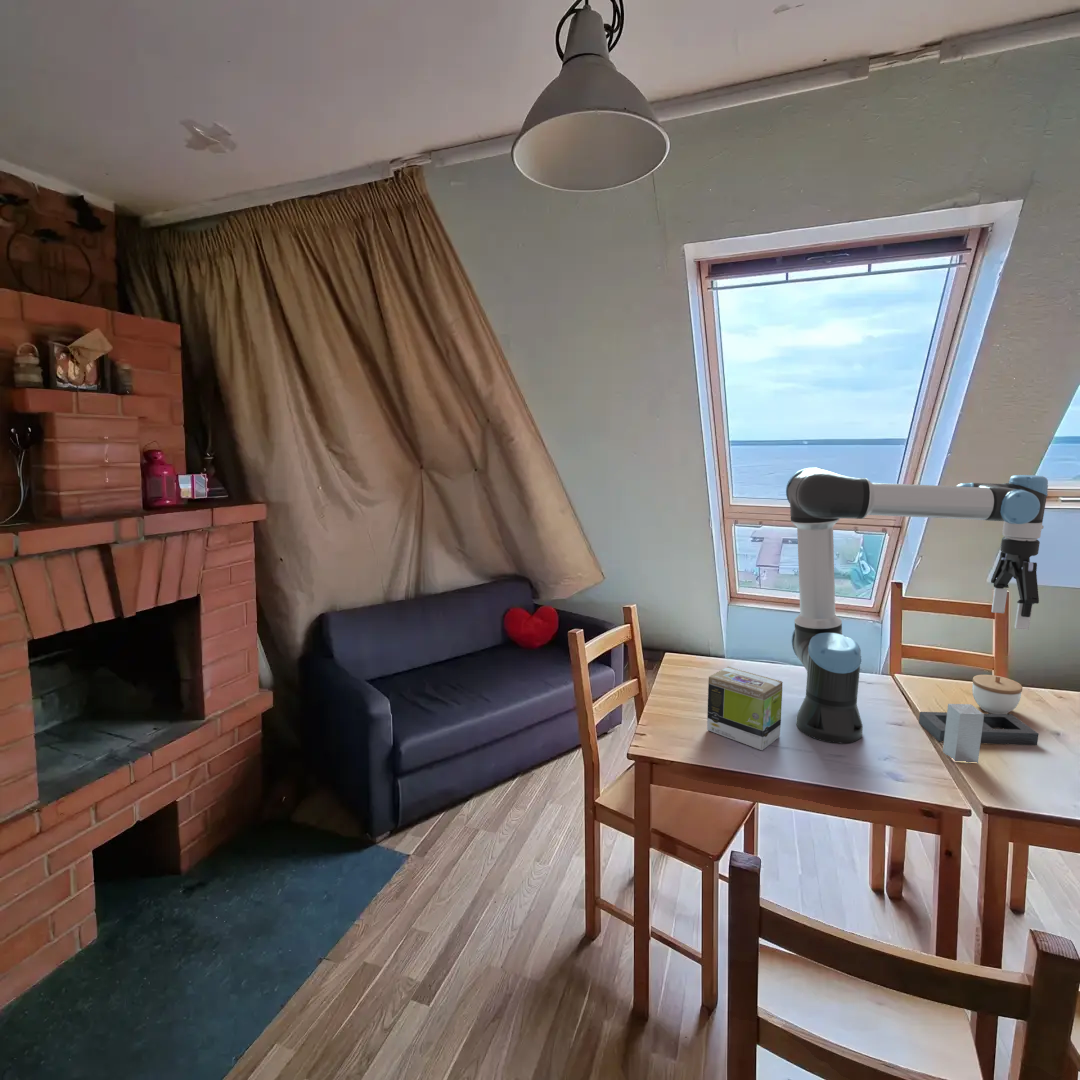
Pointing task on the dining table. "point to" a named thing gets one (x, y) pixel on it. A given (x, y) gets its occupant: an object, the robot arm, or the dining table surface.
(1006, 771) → the dining table surface
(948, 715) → the solid steel block
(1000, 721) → the dark grey flat frame
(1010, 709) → the lidded jar
